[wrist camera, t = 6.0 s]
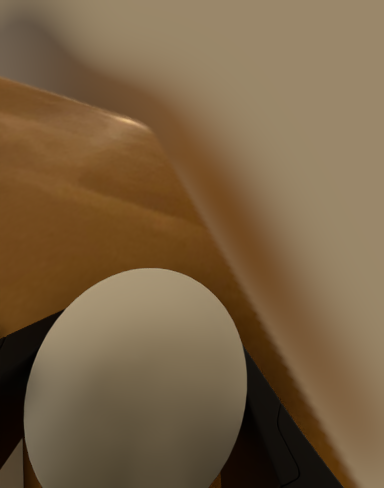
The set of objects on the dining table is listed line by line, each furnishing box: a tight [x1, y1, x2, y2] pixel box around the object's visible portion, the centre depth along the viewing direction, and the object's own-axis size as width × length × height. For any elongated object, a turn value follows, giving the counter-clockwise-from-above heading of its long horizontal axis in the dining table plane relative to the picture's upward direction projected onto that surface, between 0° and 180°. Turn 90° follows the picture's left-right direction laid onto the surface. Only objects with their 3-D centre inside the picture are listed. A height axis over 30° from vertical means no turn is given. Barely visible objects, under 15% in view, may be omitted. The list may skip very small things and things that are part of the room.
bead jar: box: [24, 268, 247, 488], centre depth 10 cm, size 6×6×10 cm
